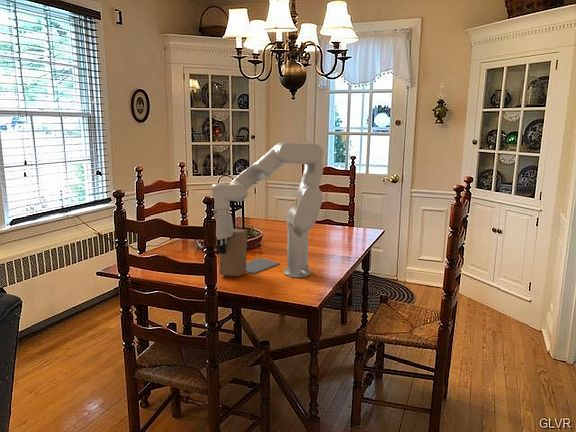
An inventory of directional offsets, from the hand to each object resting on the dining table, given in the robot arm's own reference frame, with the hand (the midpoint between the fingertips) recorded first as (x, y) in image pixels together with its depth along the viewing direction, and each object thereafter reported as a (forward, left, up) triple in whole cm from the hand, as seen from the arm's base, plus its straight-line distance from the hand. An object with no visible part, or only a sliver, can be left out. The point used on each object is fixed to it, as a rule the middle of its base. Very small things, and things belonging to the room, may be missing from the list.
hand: (221, 253), depth 200 cm
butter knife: (+24, -48, -13) cm, 56 cm away
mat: (+8, -21, -12) cm, 26 cm away
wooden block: (+2, -6, -12) cm, 13 cm away
